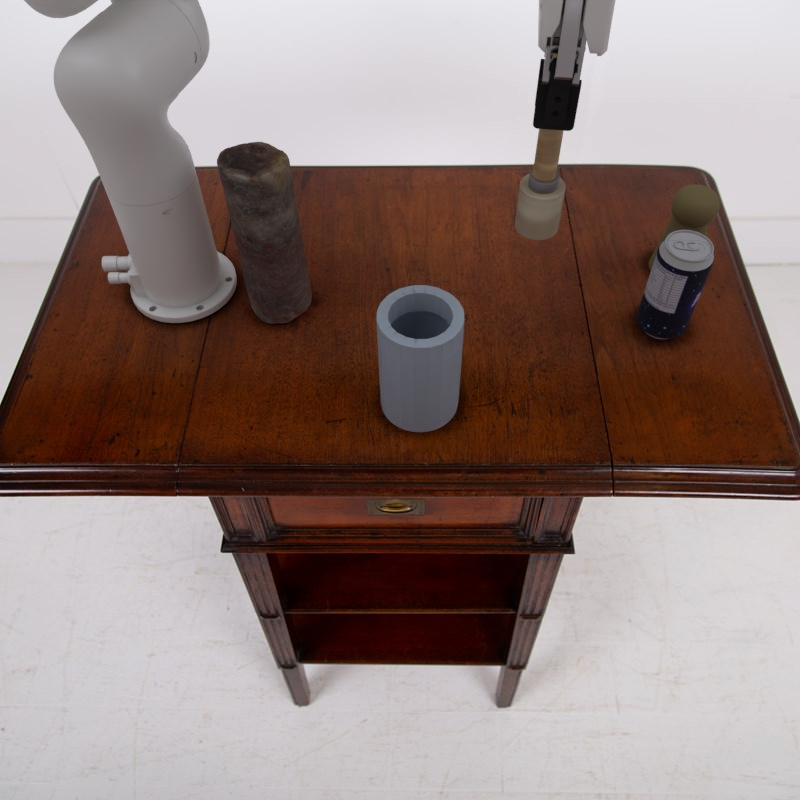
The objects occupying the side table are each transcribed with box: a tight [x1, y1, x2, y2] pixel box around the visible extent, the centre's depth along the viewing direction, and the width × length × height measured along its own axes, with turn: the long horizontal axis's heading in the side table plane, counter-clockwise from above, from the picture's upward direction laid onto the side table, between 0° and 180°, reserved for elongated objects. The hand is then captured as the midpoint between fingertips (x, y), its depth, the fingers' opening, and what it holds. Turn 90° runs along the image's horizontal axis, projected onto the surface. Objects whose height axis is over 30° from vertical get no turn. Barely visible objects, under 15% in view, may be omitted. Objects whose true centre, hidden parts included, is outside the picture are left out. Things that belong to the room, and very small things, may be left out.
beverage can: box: [635, 230, 715, 340], centre depth 82 cm, size 6×6×12 cm
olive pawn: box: [648, 183, 721, 271], centre depth 89 cm, size 6×6×11 cm
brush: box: [514, 53, 567, 241], centre depth 63 cm, size 4×4×16 cm
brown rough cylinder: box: [216, 141, 313, 325], centre depth 83 cm, size 8×7×20 cm
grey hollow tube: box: [376, 284, 466, 433], centre depth 76 cm, size 8×8×13 cm
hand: (553, 116), depth 61 cm, fingers closed on brush, 2 cm apart
